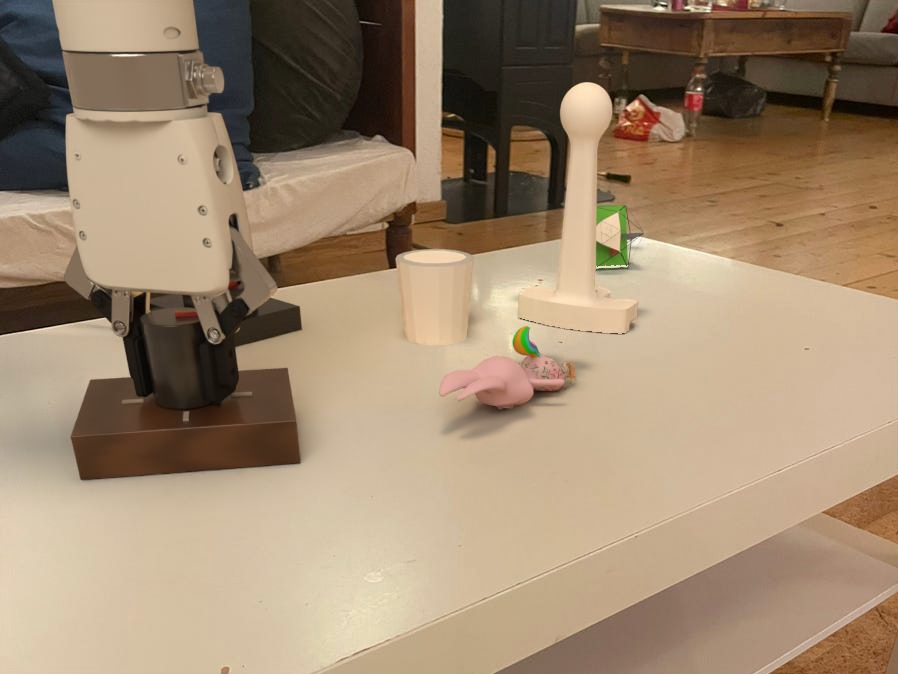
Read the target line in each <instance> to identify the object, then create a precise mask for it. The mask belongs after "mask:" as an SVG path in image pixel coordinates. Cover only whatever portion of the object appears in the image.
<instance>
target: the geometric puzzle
mask: <svg viewBox="0 0 898 674" xmlns="http://www.w3.org/2000/svg"><path fill="white" fill-rule="evenodd" d="M629 212H630V214H631V216H633V218H634V220H635V222H636V223H637V225H638V226H639V227H638V226H637V225H635V224H634V226H635V227H636V228H637V229H639V230H640V231H641V232H631V228H630V223H631V224H633V222H632V221H631V220H629V216H628V215H629V213H628V207H627V204H619V205H618V204H617V205H615V204H614V205H597V212H596V266H597V267H598V266H605V265H606V266H611V265H614V266H616V265H620V266H621V265H626V266H627V265H629V266H630V264H631V262H632V260H633V259H631V261H630V257H631V248H632V243H633V242H635V241H636V240H637V239H638V238H640V237H641V239H640V241H639V242H642V238H643V237H642V236H643V235H644V234H645V233H646V231H644V230H643V229H642V228H641V226H640V224H639V223H638V221H637V220H636V219H635V217H634V215H633V214H632V212H631V211H629ZM627 224H628V227H627ZM628 230H629V231H628ZM628 232H629V233H628ZM628 246H629V254H628ZM637 250H638V248H636V249H635V251H634V254H633V255H635V253H636V252H637Z"/></svg>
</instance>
